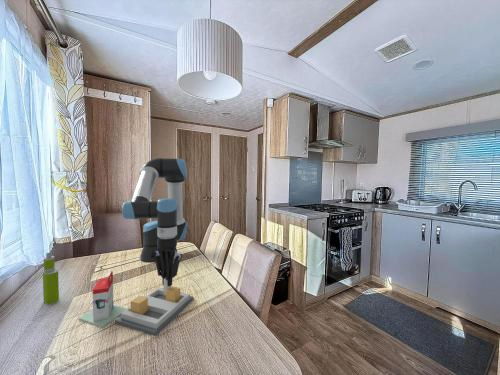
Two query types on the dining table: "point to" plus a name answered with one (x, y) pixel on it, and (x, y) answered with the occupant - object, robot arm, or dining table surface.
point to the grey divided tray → (154, 313)
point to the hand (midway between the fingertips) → (167, 292)
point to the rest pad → (114, 314)
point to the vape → (50, 280)
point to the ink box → (103, 298)
